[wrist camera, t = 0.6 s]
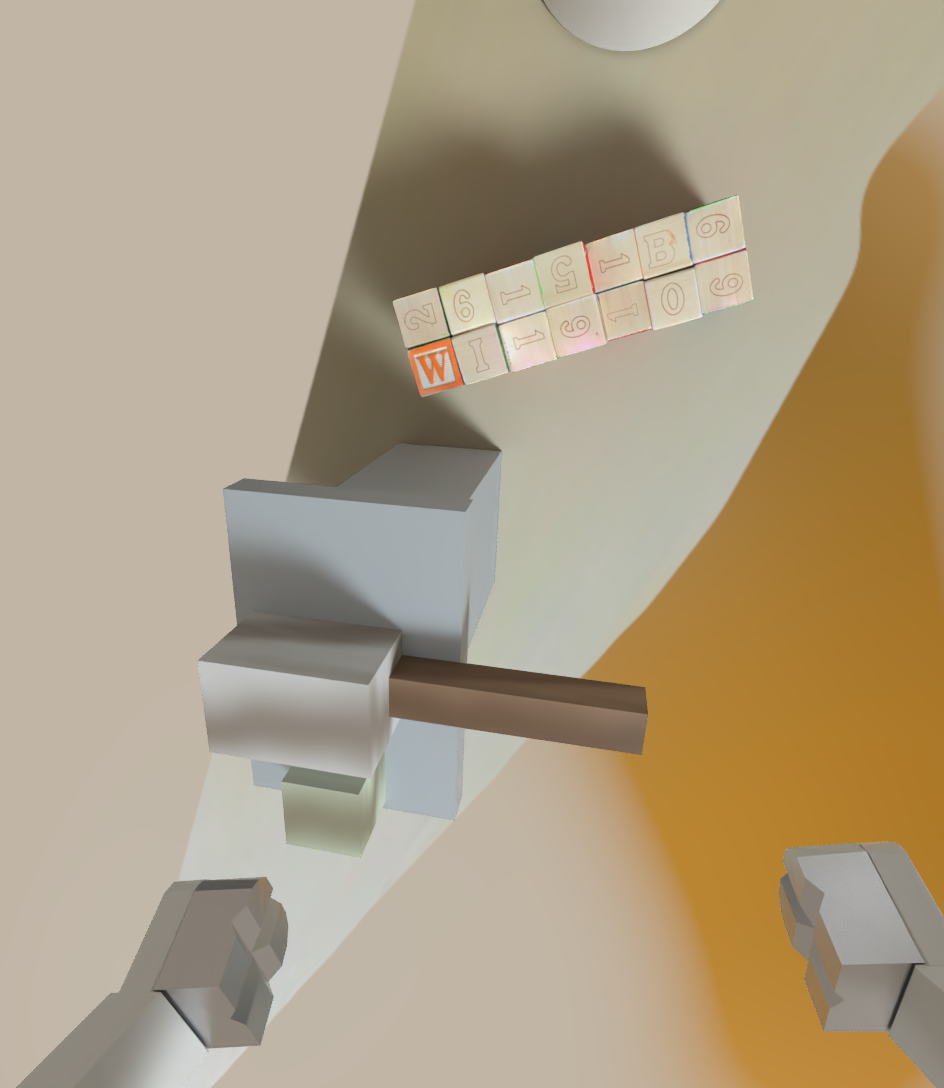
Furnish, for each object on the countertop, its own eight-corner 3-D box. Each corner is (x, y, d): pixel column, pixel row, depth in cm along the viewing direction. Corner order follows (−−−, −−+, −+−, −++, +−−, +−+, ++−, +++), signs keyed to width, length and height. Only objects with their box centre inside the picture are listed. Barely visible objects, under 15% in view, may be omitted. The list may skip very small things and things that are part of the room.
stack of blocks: (716, 212, 46) (752, 184, 35) (729, 303, 48) (768, 304, 36) (436, 300, 52) (388, 299, 40) (457, 378, 53) (417, 398, 42)
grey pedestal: (387, 407, 55) (222, 488, 31) (527, 417, 53) (465, 511, 29) (389, 597, 62) (253, 785, 38) (514, 612, 60) (454, 820, 36)
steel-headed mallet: (253, 611, 34) (197, 660, 29) (649, 661, 30) (657, 726, 26) (261, 693, 35) (209, 752, 31) (635, 749, 32) (640, 824, 27)
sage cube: (314, 731, 36) (281, 781, 32) (384, 742, 35) (358, 794, 31) (318, 789, 37) (286, 843, 33) (385, 801, 36) (360, 857, 33)
